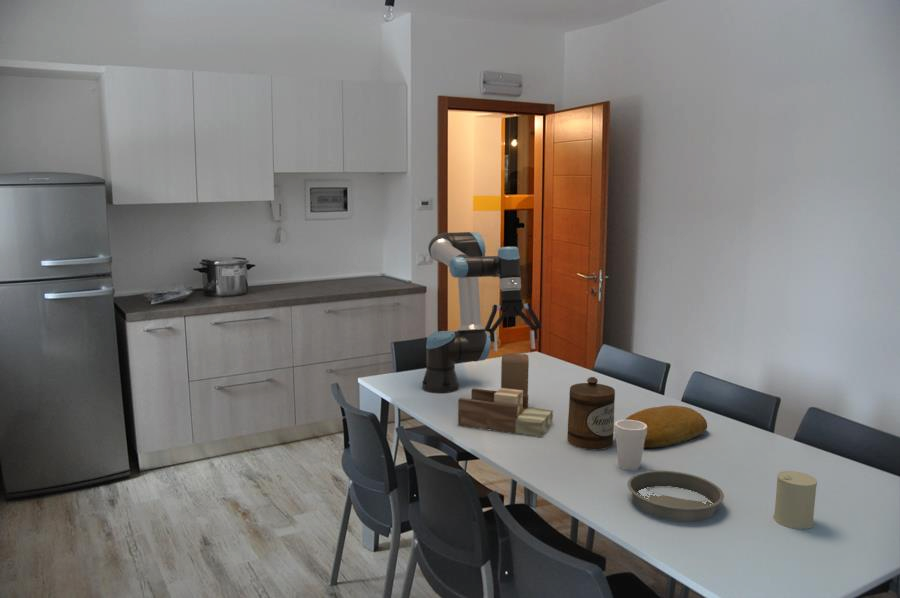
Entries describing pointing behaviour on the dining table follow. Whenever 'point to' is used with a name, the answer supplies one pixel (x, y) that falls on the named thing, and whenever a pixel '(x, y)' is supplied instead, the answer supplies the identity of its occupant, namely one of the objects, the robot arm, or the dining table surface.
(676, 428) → the bread
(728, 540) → the dining table surface
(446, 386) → the robot arm
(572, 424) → the wooden container
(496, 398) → the birch block
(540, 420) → the chute
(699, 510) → the cake pan
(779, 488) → the can
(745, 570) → the dining table surface
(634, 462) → the foam cup
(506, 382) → the wooden block
